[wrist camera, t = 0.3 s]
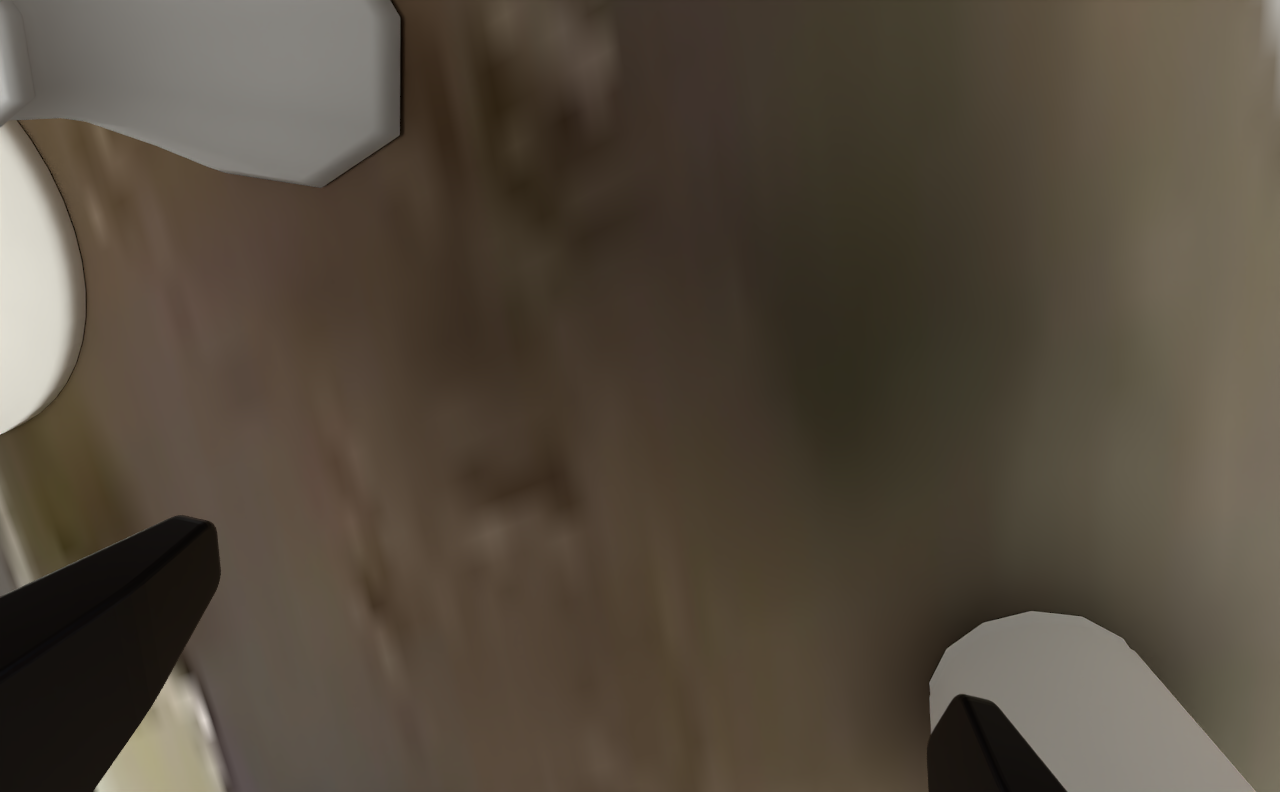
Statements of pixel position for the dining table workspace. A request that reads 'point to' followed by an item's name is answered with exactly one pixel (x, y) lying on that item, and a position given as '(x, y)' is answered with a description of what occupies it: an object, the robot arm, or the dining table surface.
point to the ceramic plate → (35, 283)
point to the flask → (213, 77)
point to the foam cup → (1083, 706)
